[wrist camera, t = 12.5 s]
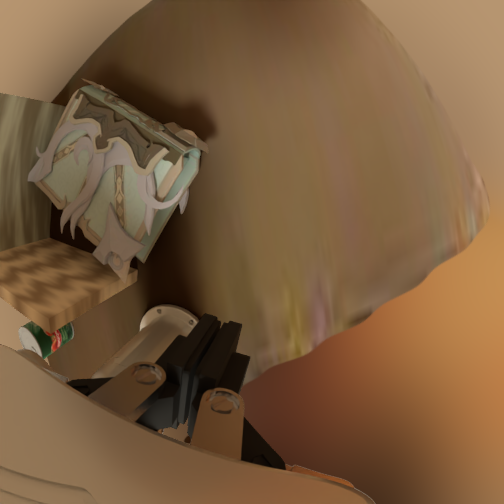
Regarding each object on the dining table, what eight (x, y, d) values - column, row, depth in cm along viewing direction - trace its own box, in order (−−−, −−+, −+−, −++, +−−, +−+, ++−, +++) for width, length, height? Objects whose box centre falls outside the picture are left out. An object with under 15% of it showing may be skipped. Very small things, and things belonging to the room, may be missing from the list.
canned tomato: (47, 314, 50) (14, 332, 40) (60, 302, 48) (24, 321, 38) (64, 343, 51) (34, 365, 40) (79, 334, 49) (46, 358, 38)
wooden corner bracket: (166, 105, 36) (76, 61, 17) (136, 281, 43) (50, 333, 24) (61, 107, 39) (-18, 93, 20) (44, 244, 46) (-31, 269, 27)
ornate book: (229, 153, 38) (98, 76, 37) (209, 144, 28) (64, 62, 28) (153, 274, 44) (47, 181, 43) (121, 296, 34) (12, 185, 34)
